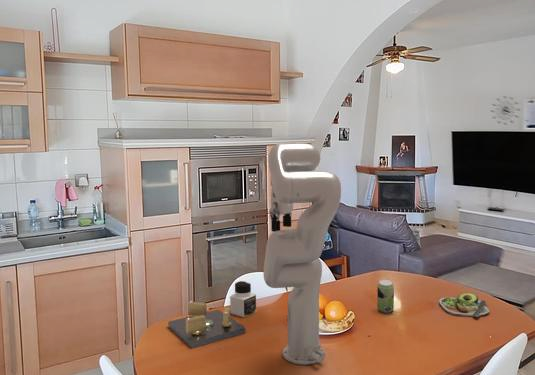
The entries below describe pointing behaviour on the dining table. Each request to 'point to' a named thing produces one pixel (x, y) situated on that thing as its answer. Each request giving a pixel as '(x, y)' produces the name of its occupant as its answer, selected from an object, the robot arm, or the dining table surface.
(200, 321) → the knob
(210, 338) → the plate
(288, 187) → the robot arm
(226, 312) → the knob
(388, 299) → the beverage can
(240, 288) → the medicine bottle
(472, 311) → the salad plate
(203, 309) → the olive open box
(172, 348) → the dining table surface
